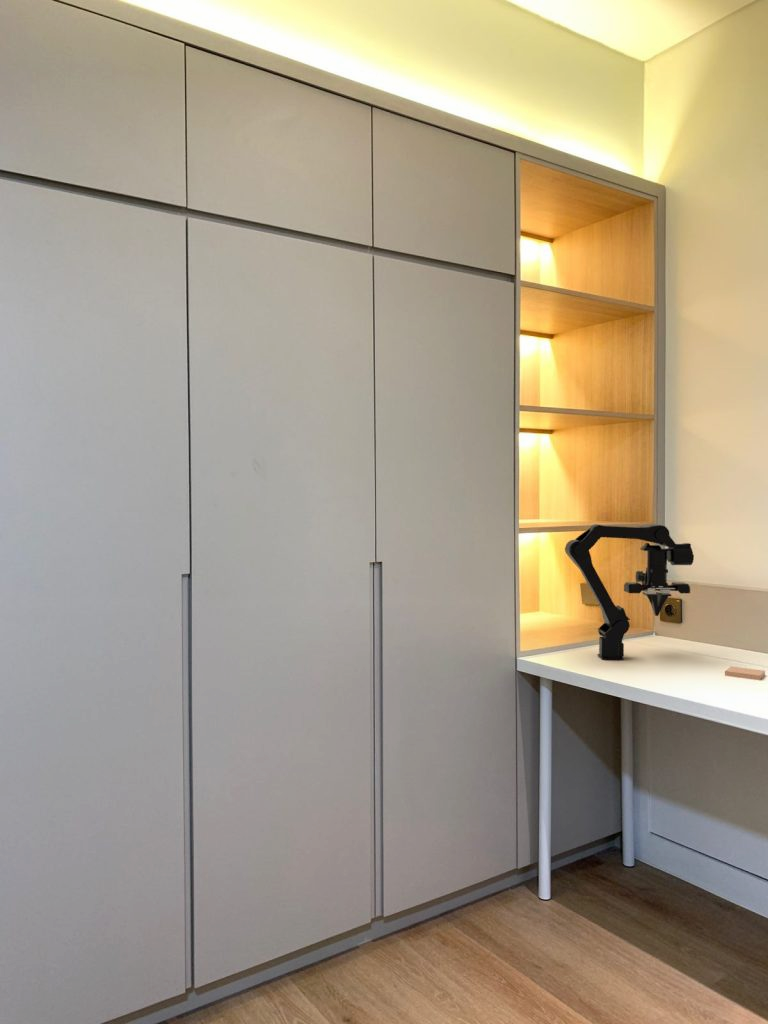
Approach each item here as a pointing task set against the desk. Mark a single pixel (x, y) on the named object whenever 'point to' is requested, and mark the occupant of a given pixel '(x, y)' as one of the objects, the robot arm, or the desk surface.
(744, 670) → the glazed tile
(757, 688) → the desk surface
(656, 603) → the robot arm
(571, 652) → the desk surface
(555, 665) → the desk surface
